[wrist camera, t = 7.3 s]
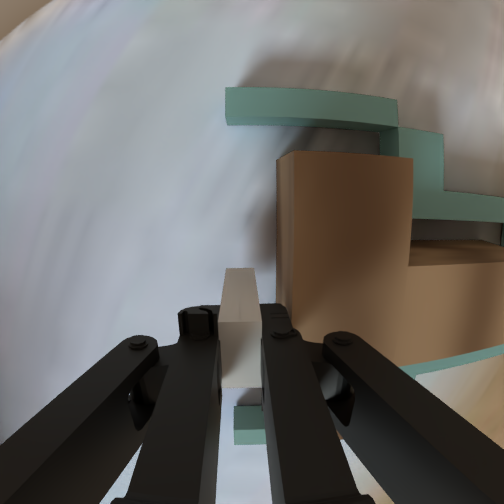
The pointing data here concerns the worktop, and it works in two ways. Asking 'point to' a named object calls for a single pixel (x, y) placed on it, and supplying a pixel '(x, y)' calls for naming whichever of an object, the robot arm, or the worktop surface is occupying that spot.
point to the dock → (391, 144)
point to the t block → (379, 262)
